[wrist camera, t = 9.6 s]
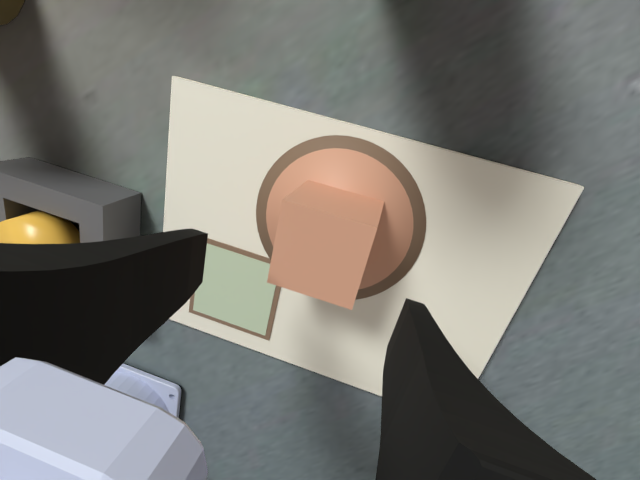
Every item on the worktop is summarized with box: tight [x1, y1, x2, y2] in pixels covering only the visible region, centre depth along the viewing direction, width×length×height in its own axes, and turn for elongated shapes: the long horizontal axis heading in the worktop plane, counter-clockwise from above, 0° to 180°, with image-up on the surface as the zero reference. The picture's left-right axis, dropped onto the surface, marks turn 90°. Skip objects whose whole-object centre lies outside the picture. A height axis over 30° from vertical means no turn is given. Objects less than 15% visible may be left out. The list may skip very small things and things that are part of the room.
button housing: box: [0, 157, 141, 243], centre depth 22 cm, size 8×8×3 cm
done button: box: [0, 210, 80, 244], centre depth 21 cm, size 4×4×2 cm
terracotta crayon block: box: [267, 180, 384, 310], centre depth 17 cm, size 4×4×4 cm
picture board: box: [163, 76, 584, 396], centre depth 20 cm, size 15×20×1 cm
